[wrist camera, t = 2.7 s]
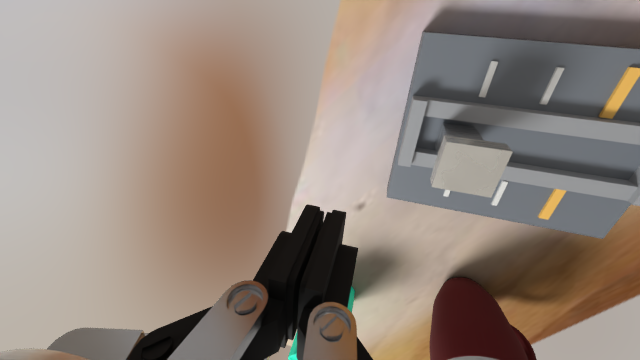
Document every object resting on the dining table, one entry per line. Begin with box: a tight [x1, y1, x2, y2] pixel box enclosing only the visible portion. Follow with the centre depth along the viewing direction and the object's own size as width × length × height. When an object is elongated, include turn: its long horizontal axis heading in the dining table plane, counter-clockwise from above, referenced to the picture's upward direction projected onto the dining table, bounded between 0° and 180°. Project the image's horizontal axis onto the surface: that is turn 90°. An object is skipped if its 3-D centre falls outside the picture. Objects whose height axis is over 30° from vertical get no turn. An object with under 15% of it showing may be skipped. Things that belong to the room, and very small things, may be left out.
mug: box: [430, 277, 536, 360], centre depth 28 cm, size 10×8×10 cm
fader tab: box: [430, 122, 513, 198], centre depth 19 cm, size 3×4×6 cm
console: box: [387, 32, 640, 239], centre depth 21 cm, size 14×18×4 cm
